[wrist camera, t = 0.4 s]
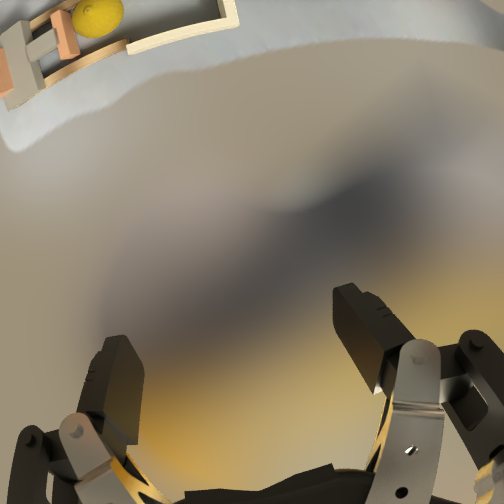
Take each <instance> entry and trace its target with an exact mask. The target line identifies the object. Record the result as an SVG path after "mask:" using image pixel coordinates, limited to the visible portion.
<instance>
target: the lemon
mask: <svg viewBox="0 0 504 504" xmlns="http://www.w3.org/2000/svg"><path fill="white" fill-rule="evenodd" d="M123 13H124V9H123V4H122V2H121V0H82V1H81V2H80V3H79V4H78V5H77V6H76V8H75V9H74V11H73V14H72V25H73V28H74V29H75V31H76V32H77V33H78V34H80V35H81V36H84V37H87V38H97V37H102V36H104V35H107V34H108V33H110V32H111V31H113V30H114V29H115V28H116V27H117V26H118V24H119V23H120V22H121V19H122V17H123Z"/></svg>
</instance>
